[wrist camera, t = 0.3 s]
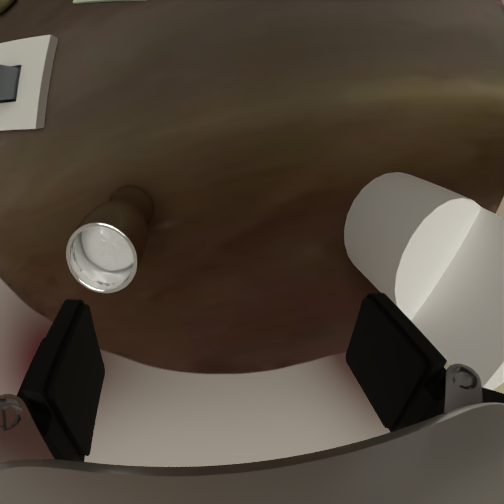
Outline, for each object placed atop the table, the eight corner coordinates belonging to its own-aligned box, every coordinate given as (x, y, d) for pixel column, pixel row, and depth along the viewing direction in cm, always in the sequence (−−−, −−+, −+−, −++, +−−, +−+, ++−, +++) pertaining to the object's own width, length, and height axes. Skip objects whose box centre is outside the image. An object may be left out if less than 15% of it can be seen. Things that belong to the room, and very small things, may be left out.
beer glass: (94, 211, 37) (50, 261, 23) (127, 170, 36) (92, 202, 22) (134, 244, 40) (110, 309, 26) (168, 206, 38) (156, 257, 25)
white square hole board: (-10, 49, 23) (-19, 47, 21) (58, 38, 26) (50, 34, 24) (-21, 131, 28) (-31, 133, 26) (44, 127, 31) (35, 128, 28)
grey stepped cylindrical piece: (445, 206, 46) (574, 281, 21) (394, 288, 51) (497, 397, 26) (383, 149, 40) (554, 212, 15) (322, 251, 45) (440, 391, 20)
